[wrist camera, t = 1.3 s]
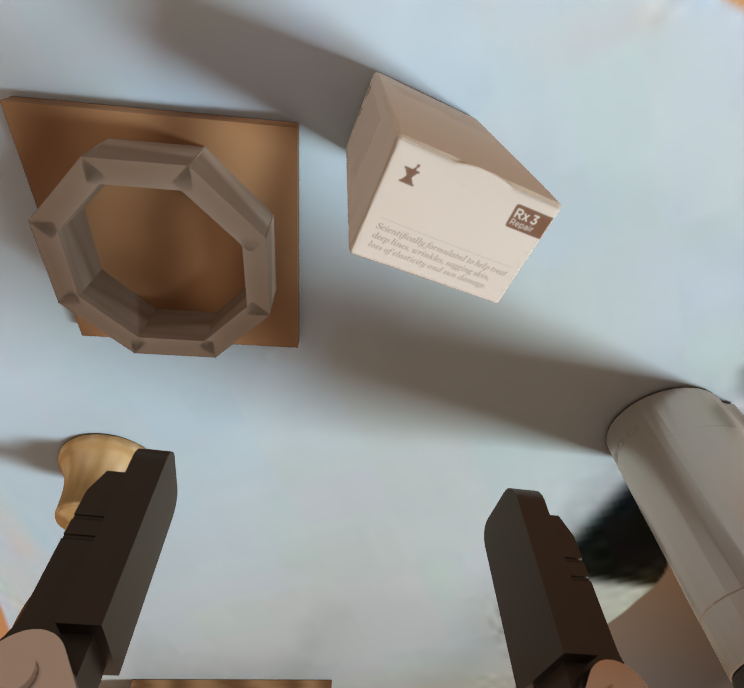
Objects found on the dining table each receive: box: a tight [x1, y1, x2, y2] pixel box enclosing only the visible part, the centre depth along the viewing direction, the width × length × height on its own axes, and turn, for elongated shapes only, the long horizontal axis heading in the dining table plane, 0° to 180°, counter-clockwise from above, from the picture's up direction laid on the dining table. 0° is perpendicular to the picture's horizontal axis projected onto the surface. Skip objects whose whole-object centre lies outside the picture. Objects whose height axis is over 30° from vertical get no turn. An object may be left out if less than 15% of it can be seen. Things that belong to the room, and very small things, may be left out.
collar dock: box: [0, 96, 299, 357], centre depth 27 cm, size 14×14×4 cm
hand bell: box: [13, 434, 145, 626], centre depth 35 cm, size 8×8×16 cm
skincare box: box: [346, 72, 561, 303], centre depth 20 cm, size 6×4×12 cm
